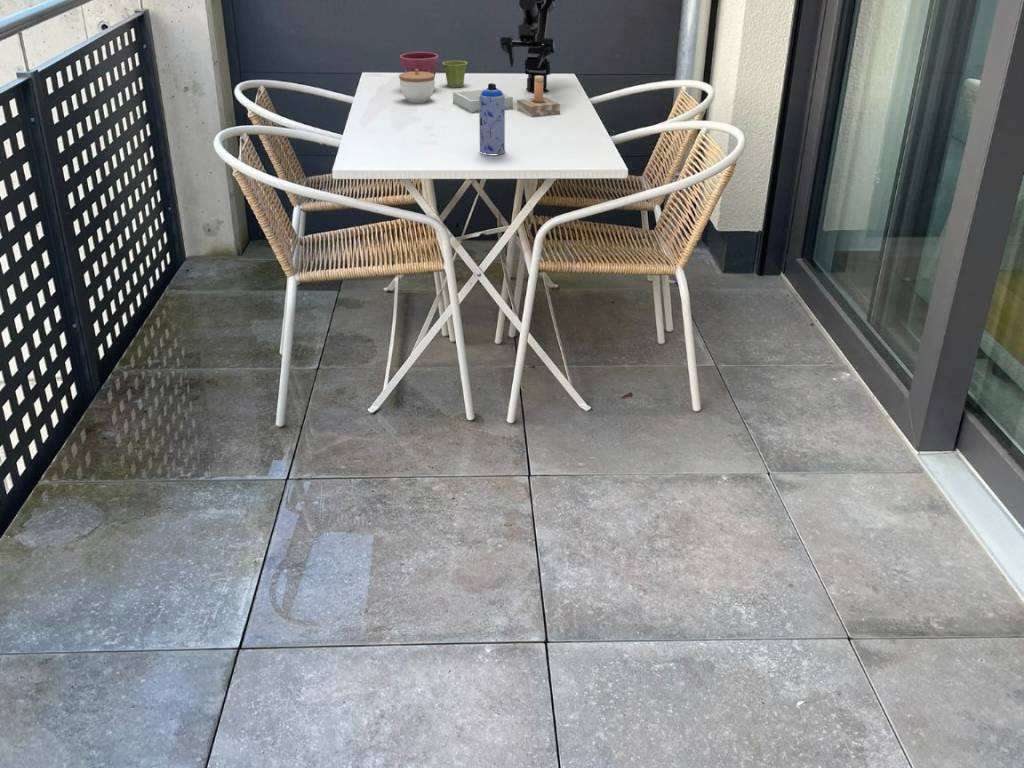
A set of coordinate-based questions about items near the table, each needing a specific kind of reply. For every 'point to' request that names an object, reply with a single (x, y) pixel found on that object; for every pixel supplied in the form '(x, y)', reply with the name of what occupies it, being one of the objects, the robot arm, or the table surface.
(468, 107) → the tray
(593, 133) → the table surface
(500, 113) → the aerosol can
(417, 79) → the lidded bowl
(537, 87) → the pin
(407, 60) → the plant pot
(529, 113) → the hitch block
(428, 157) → the table surface
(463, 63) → the plant pot
